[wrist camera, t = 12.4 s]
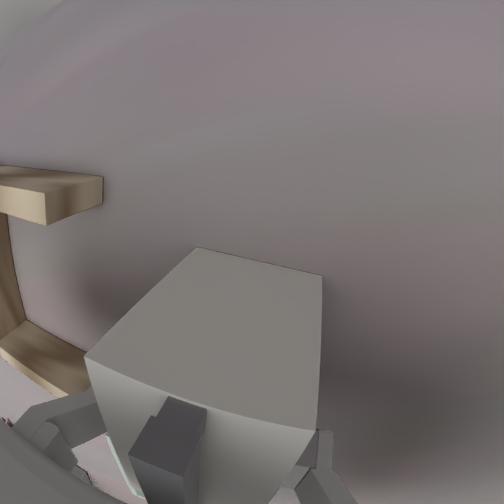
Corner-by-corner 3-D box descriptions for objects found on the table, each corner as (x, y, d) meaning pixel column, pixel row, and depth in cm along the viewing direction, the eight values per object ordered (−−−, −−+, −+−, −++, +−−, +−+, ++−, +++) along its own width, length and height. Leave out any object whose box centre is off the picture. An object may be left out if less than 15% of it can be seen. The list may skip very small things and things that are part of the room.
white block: (322, 275, 11) (307, 503, 3) (278, 408, 14) (241, 557, 6) (196, 246, 12) (40, 401, 4) (188, 383, 15) (116, 514, 7)
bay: (103, 176, 12) (44, 193, 8) (118, 379, 16) (90, 416, 13) (-4, 165, 13) (-47, 176, 10) (21, 326, 18) (-7, 349, 15)
